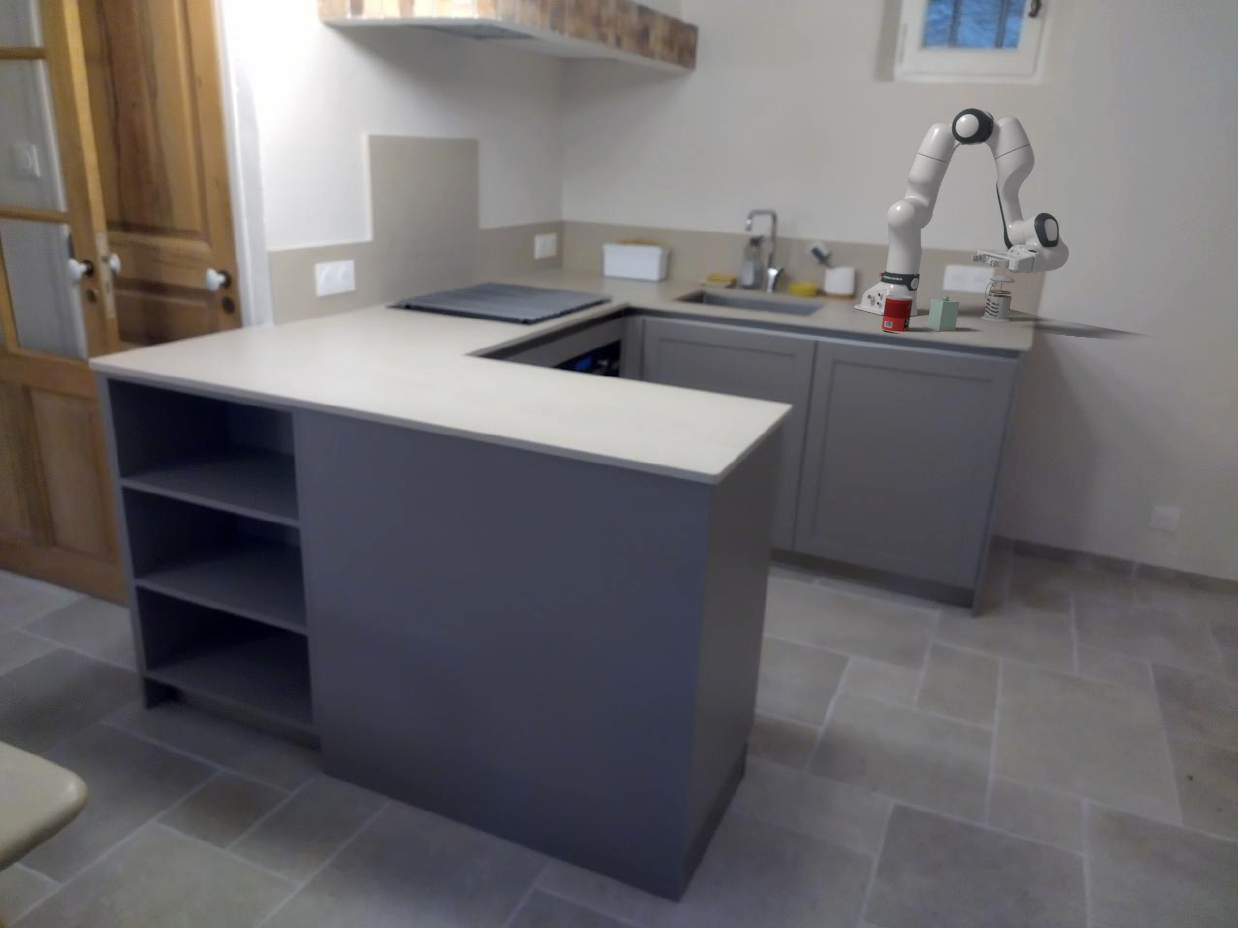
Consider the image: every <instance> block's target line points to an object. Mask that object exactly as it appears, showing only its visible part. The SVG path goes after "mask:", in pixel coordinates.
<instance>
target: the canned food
mask: <svg viewBox="0 0 1238 928" xmlns="http://www.w3.org/2000/svg"><path fill="white" fill-rule="evenodd" d="M912 301H913V297H910V296H905V295H887V296H886V300H885V308H884V315H882V316H883V317H882V324H881V329H882V330H881V331H882V332H884V333H887V334H888V333H889V334H895V335H897V334H898V335H900V333H902V332H908V331H909V327H910V320H911V316H910V315H911V308H912ZM898 332H900V333H898Z"/></svg>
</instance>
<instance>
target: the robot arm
mask: <svg viewBox="0 0 1238 928" xmlns="http://www.w3.org/2000/svg"><path fill="white" fill-rule="evenodd" d="M983 143H984V144H986V145H987V147H988V148H989V149H990V151H991V154H992V157H993V160H994V162H995V166H996V174H997V180H996V184H995V185H996V186H995V187H996V194H997V195H996V196H997V200H998V204H999V211H1000V215H1001V219H1002V224H1003V226H1002V227H1003V241H1004V245H1005V247H1007V248H1008V249H1009V250H1008V251H1007V250H1001V249H978V250H977V253H976V254H975V255H972V256H971V259H970V260H971V261H972V262H974V263H977V262H979V263H983V264H986V265H989V266H990V267H993V268H995V267H997V268H1001V269H1004V268H1005V269H1006V270H1009V272H1011V273H1012V274H1031V275H1033V274H1037V273H1043V272H1050V271H1052V272H1053V271H1056V270H1059V269H1060V268H1062V267H1063V266H1064V265H1065V264H1066V263H1067V261H1068V259H1069V254H1070V252H1069V247H1068V245H1067V244H1065V242H1064V241H1063V240H1062V238H1061V236H1060V227H1059V222H1058V221H1057V219H1056V217H1055V216H1053V215H1052V214H1050V213H1048V212H1040V213H1038V214H1035V215H1033V216H1031V217H1029V218H1026V219H1024V218H1023V213H1022V208H1021V203H1020V198H1019V191H1020V188H1021V187H1022V184H1024V182H1025V180H1026V179H1027V178H1028V177H1029V175H1030V174H1031V173H1032V171H1033V169H1034V166H1035V153H1034V151H1033V148H1032V145H1031V142H1030V139H1029V137H1028V135H1027V133H1026V130H1025V128H1024V127H1023V125H1022V124H1021V122H1020V120H1019V119H1018V118H1017V117H1015V116H1004V117H1002V118H1001V117H1000V118H999V119H994V116H993V115H992V114H991V113H990V112H989V111H987V110H985V109H983V108H978V107H973V108H966V109H963V110H962V111H960V112H959V113H957V114H956V115H955V117H954V118H953V121H952V123H950V122H949V123H948V122H946V121H944V122H943V121H940V122H936V123H933V124H932V125H931V126H930V127H929V129H928V131H927V132H926V133H925V136H923V139H922V141H921V143H920V146H919V147H918V150H917V152H916V155H915V157H914V159H913V163H912V165H911V168H910V170H909V172H908V176H907V183H906V188H905V193H904V196H903V198H901V199H899V200H897V201H895V202H894V203H893V204H892V205H891V206H890V207H889V209H888V211H887V214H886V220H887V223H888V224H887V225H888V226H887V227H888V229H887V230H888V253H887V259H886V268H885V271H884V272H879V273H878V277H881V278H880V280H879V282H877V283H875V284H874V285H873V286H871V287H870V288H868V289H867V290H865V291H864V293H863V295H862V298H861V301H860V303H859V304H855V305H854V306H853V308H854V309H856V310H861V311H863V312H868V313H871V314H875V315H878V316H879V315H880V316H883V315H884V308H885V300H886V296H887V295H905V296H910V297H913V301H912V308H911V315H910V317H913V316H914V317H915V316H918V314H919V313H918V305H917V303H918V302H917V295H918V293H917V292H918V288H919V284H920V276H921V275H920V267H921V260H922V254H923V253H922V252H923V248H922V239H921V238H922V229H924V228H925V227H926V226H927V225H928V224H929V223H930V222H931V221H932V218H933V216H934V215H933V214H934V213H933V212H934V209H935V206H936V203H937V199H938V196H939V191H940V188H941V185H942V183H943V180H944V178H945V175H946V173H947V170H948V168H949V165H950V162H951V161H952V158H953V155H954V153H955V151H956V150H957V148H958V147H960V146H963V145H964V146H975V145H981V144H983Z"/></svg>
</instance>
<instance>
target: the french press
mask: <svg viewBox="0 0 1238 928" xmlns="http://www.w3.org/2000/svg"><path fill="white" fill-rule="evenodd" d="M1004 250H1005V251H1006V252H1007V251H1008V250H1009V249H1008V248H1007V247H1006V246H1005V248H1004ZM989 280H990V282H989V283H988V284H987V286H986V288H985V291H984V296H985V297H984V298H985V301H986V302H985V303H986V304H985V309H984V313H983V314H984V315H983V316H981V317H980V319H981V320H984V321H989V322H997V323H1008V322H1009V323H1010V322H1011V320H1010V319H1009V314H1010V308H1011V304H1012V298H1013V297H1012V296H1011V294H1012V292H1011V291H1010V290H1003V289H1002V286H1003V283H1007V284H1008V283H1010V284H1011V283H1015V282H1016V280H1015V279H1014V278H1012V276H1009V275H1006V274H1005V268H1003V273H1002V274H997V275H995V276H992V277H990V278H989ZM991 281H992V282H991ZM993 282H994V283H993ZM997 282H999V283H1001V284H1000V289H992V287H997V284H998V283H997ZM990 284H991V286H990V288H989V292H988V294H987V289H988V287H989V285H990ZM994 284H995V285H994ZM991 293H992V294H993V295H992V294H991Z"/></svg>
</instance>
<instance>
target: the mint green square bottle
mask: <svg viewBox="0 0 1238 928" xmlns="http://www.w3.org/2000/svg"><path fill="white" fill-rule="evenodd" d="M929 307H930V308H929V313H928V318H927V319H928V320H927V325H926V326H927V327H928V328H931V329H934V330H938V331H955V330H956V326H957V320H958V313H959V309H960V308H959V307H960V301H958V300H953V299H950V296H948V295H943V296H942V298H931V300H930V306H929Z"/></svg>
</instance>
